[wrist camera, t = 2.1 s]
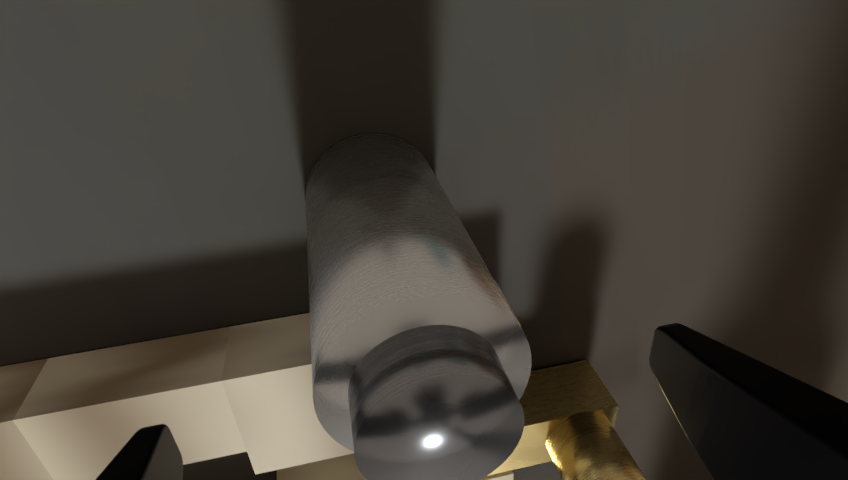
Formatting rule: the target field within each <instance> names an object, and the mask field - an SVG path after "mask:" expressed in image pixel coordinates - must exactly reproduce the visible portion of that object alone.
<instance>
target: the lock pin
mask: <svg viewBox="0 0 848 480" xmlns="http://www.w3.org/2000/svg"><path fill="white" fill-rule="evenodd" d="M519 402H520V404H521V406H522V408H523V412H524V429H523V433H522V436H521V439H520V441H519V443H518V445H517V446H516V448H515V450H514V451H513V453H512V454H511V455H510V456H509V457H508V458H507V460H506V461H505V462H504V463H502V464H501V465H500V466H499V467H498V468H497V469H496V470H494V471H493V472H492V473H490V474H489V475H493V474H497V473H502V472H506V471H510V470H515V469H519V468H523V467H528V466H532V465H536V464H541V463H545V462H549V461H553V463H554V465H555V467H556V469H557V471H558V473H559V475H560V478H561V480H647V479H646V478H645V476H644V475H643V473H642V472H641V470H640V468H639V467H638V465H637V464H636V462H635V461H634V459H633V457H632V456H631V454H630V453H629V451H628V450H627V448H626V446H625V445H624V443H623V442H622V440H621V439H620V437H619V435H618V434H617V432H616V431H615V429H614V426H615V421H616V416H617V411H618V404H617V403H616V402H615V400H614V399H613V397H612V396H611V394H610V393H609V391H608V390H607V388H606V387H605V385H604V384H603V382H602V381H601V379H600V378H599V376H598V375H597V373H596V372H595V370H594V369H593V367H592V366H591V364H590V363H589V361H588V360H584V361H579V362H574V363H569V364H564V365H559V366H554V367H549V368H544V369H539V370H534V371H531V372H530V377H529V380H528V384H527V386H526V388H525V391H524V393H523V395H522V397H521V398H520V400H519ZM489 475H487V476H489Z"/></svg>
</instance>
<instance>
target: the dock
mask: <svg viewBox="0 0 848 480" xmlns="http://www.w3.org/2000/svg"><path fill="white" fill-rule="evenodd" d="M495 282H496V281H495ZM496 284H497V282H496ZM497 286H498V284H497ZM498 287H499V286H498ZM499 289H500V288H499ZM500 291H501V289H500ZM501 293H502V291H501ZM502 295H503V293H502ZM503 296H504V295H503ZM504 298H505V296H504ZM505 300H506V298H505ZM506 302H507V300H506ZM507 303H508V302H507ZM508 305H509V304H508ZM509 307H510V305H509ZM510 309H511V307H510ZM511 310H512V309H511ZM512 312H513V311H512ZM513 314H514V312H513ZM514 316H515V314H514ZM515 318H516V316H515ZM516 319H517V318H516ZM517 321H518V319H517ZM518 323H519V321H518ZM519 325H520V323H519ZM159 424H165V425H167V426H168V427H169V429H170V431H171V433H172V435H173V437H174V439H175V441H176V444H177V446H178V448H179V450H180V452H181V455H182V459H183V465H185V464H190V463H194V462H199V461H204V460H209V459H214V458H218V457H223V456H228V455H233V454H238V453H242V452H247V453H248V456H249V459H250V461H251V464H252V467H253V470H254V473H255V475H256V474H260V473H265V472H270V471H274V470H277V480H366V479H365V478H364V476H363V475H362V474H361V473H360V471H359V469H358V467H357V464H356V461H355V454H354V452H353V451H351V450H349V449H347V448H345V447H344V446H342V445H340V444H339V443H337V442H336V441H335V440H334V439H333V438H332V437H331V436H329V434H328V433H327V432H326V431H325V430H324V428H323V427H322V425H321V423H320V422H319V420H318V418H317V415H316V412H315V409H314V403H313V390H312V363H311V335H310V313H305V314H300V315H294V316H288V317H282V318H277V319H271V320H265V321H259V322H254V323H248V324H242V325H237V326H231V327H225V328H219V329H214V330H208V331H202V332H196V333H191V334H185V335H179V336H173V337H168V338H162V339H156V340H151V341H145V342H139V343H133V344H128V345H122V346H116V347H110V348H105V349H99V350H93V351H87V352H82V353H76V354H70V355H65V356H59V357H53V358H47V359H42V360H36V361H30V362H24V363H19V364H13V365H7V366H2V367H0V480H95V479H96V478H97V477H98V476H99V475H100V474H101V472H102V471H103V470H104V469H105V468H106V467H107V465H108V464H109V463H110V462H111V461H112V460H113V458H114V457H115V456H116V455H117V454H118V453H119V451H120V450H121V449H122V448H123V447H124V446H125V444H126V443H127V442H128V441H129V440H130V439H131V437H132V436H133V435H134V434H135V433H136V432H137V431H138V430H139V429H141V428H144V427H149V426H154V425H159ZM513 475H514V474H513V471H512V470H510V471H506V472H502V473H497V474H493V475H489V476H486V477H484V478H482V479H481V480H513Z"/></svg>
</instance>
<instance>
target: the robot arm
mask: <svg viewBox="0 0 848 480" xmlns="http://www.w3.org/2000/svg"><path fill="white" fill-rule="evenodd" d="M649 363H650V367H651V370H652V372H653V374H654V376H655V378H656V380H657V381H658V383H659V385H660V387H661V389H662V391H663V393H664V395H665V397H666V399H667V401H668V402H669V404H670V406H671V408H672V410H673V412H674V414H675V416H676V418H677V420H678V421H679V423H680V425H681V427H682V429H683V431H684V433H685V434H686V436H687V438H688V440H689V441H690V443H691V445H692V446H693V448H694V449H695V451H696V452H697V454H698V455H699V457H700V459H701V460H702V462H703V463H704V465H705V466H706V468H707V469H708V471H709V472H710V474H711V475H712V477H713V478H714V480H848V403H847V402H845V401H843V400H840V399H838V398H836V397H834V396H832V395H830V394H828V393H826V392H823V391H821V390H819V389H817V388H815V387H813V386H811V385H809V384H807V383H804V382H802V381H800V380H798V379H796V378H794V377H792V376H790V375H788V374H785V373H783V372H781V371H779V370H777V369H775V368H773V367H771V366H769V365H766V364H764V363H762V362H760V361H758V360H756V359H754V358H752V357H750V356H747V355H745V354H743V353H741V352H739V351H737V350H735V349H733V348H731V347H728V346H726V345H724V344H722V343H720V342H718V341H716V340H714V339H712V338H709V337H707V336H705V335H703V334H701V333H699V332H697V331H695V330H693V329H690V328H688V327H686V326H684V325H682V324H679V323H674V324H668V325H663V326H659V327H658V328H657V329H656V330H655V333H654V337H653V342H652V347H651V351H650V356H649ZM182 477H183V459H182V455H181V452H180V450H179V448H178V446H177V444H176V441H175V439H174V437H173V435H172V433H171V431H170V429H169V427H168V426H167V425H165V424H159V425H154V426H149V427H144V428H141V429H139V430H138V431H137V432H136V433H135V434H134V435H133V436H132V437H131V439H130V440H129V441H128V442H127V443H126V444H125V446H124V447H123V448H122V449H121V450H120V451H119V453H118V454H117V455H116V456H115V457H114V458H113V460H112V461H111V462H110V463H109V464H108V465H107V467H106V468H105V469H104V470H103V471H102V472H101V474H100V475H99V476H98V477H97V478H96V479H95V480H182Z"/></svg>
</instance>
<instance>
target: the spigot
mask: <svg viewBox="0 0 848 480" xmlns="http://www.w3.org/2000/svg"><path fill="white" fill-rule="evenodd" d="M305 198H306V226H307V253H308V280H309V308H310V335H311V363H312V390H313V403H314V409H315V412H316V415H317V418H318V420H319V422H320V423H321V425H322V427H323V428H324V430H325V431H326V432H327V433H328V434H329V436H331V437H332V438H333V439H334V440H335V441H336V442H337V443H339V444H340V445H342V446H344V447H345V448H347V449H349V450H351V451H353V452H354V454H355V461H356V464H357V467H358V469H359V471H360V473H361V474H362V475H363V476H364V478H365V479H366V480H481V479H482V478H484V477H486V476H487V475H489V474H490V473H492V472H493V471H494V470H496V469H497V468H498V467H499V466H500V465H501V464H502V463H504V462H505V461H506V460H507V458H508V457H509V456H510V455H511V454H512V453H513V451H514V450H515V448H516V446H517V445H518V443H519V441H520V439H521V436H522V433H523V429H524V412H523V408H522V406H521V404H520V402H519V400H520V398H521V397H522V395H523V393H524V391H525V388H526V386H527V384H528V380H529V377H530V372H531V365H532V363H531V351H530V346H529V343H528V340H527V338H526V335H525V334H524V332H523V330H522V328H521V326H520V325H519V323H518V321H517V319H516V318H515V316H514V314H513V312H512V310H511V309H510V307H509V305H508V303H507V302H506V300H505V298H504V296H503V295H502V293H501V291H500V289H499V287H498V286H497V284H496V282H495V280H494V279H493V277H492V275H491V273H490V271H489V270H488V268H487V266H486V264H485V263H484V261H483V259H482V257H481V256H480V254H479V252H478V250H477V248H476V247H475V245H474V243H473V241H472V240H471V238H470V236H469V234H468V232H467V231H466V229H465V227H464V225H463V224H462V222H461V220H460V218H459V217H458V215H457V213H456V211H455V209H454V208H453V206H452V204H451V202H450V201H449V199H448V197H447V195H446V193H445V192H444V190H443V188H442V186H441V185H440V183H439V181H438V179H437V178H436V176H435V174H434V172H433V170H432V169H431V167H430V165H429V163H428V162H427V160H426V159H425V157H424V156H423V155H422V154H421V153H420V151H418V150H417V149H416V148H415V147H414V146H412V145H411V144H409V143H408V142H406V141H404V140H402V139H400V138H398V137H395V136H392V135H387V134H380V133H367V134H360V135H355V136H352V137H349V138H346V139H344V140H342V141H340V142H338V143H336V144H335V145H333V146H332V147H330V148H329V149H328V150H327V151H326V152H324V153H323V155H322V156H321V157H320V158H319V159H318V160H317V162H316V163H315V165H314V166H313V168H312V170H311V172H310V174H309V177H308V180H307V185H306V197H305Z"/></svg>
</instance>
